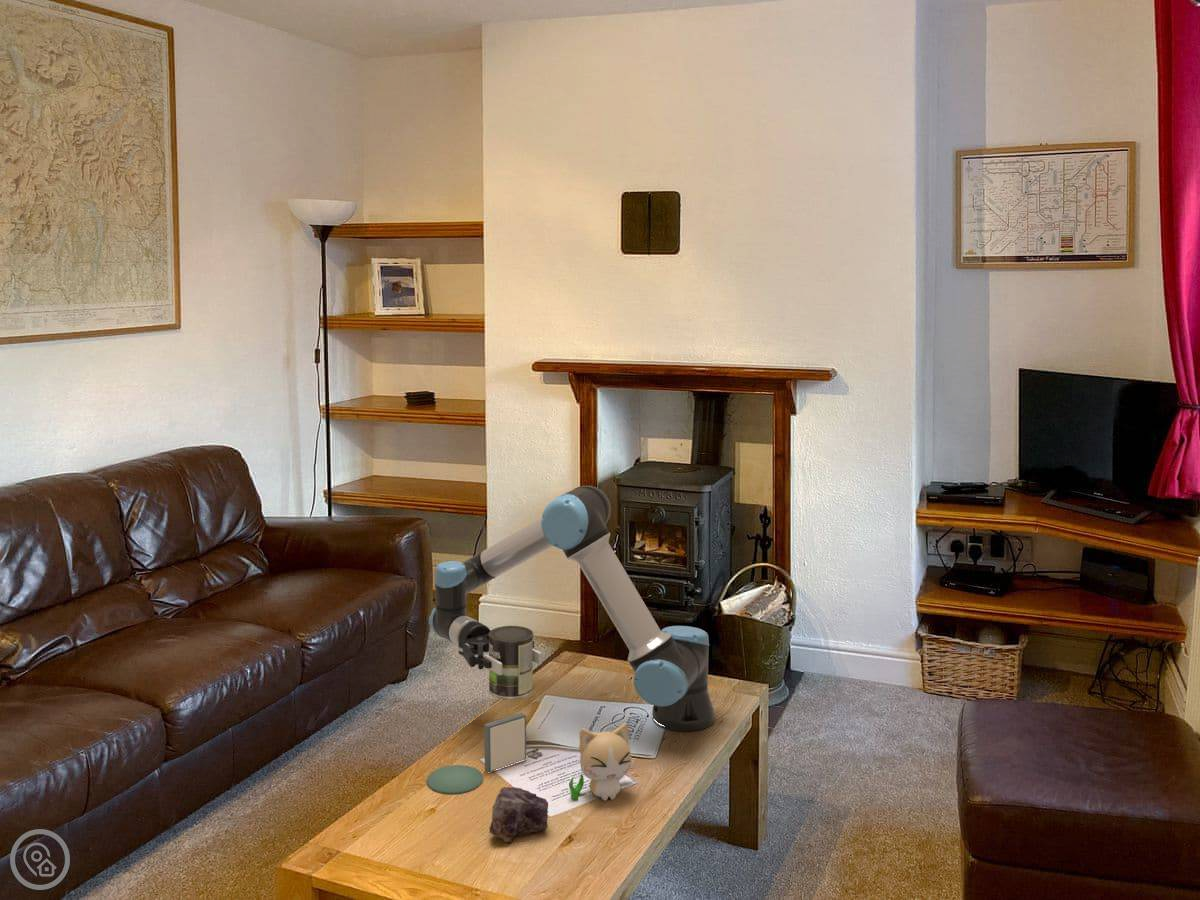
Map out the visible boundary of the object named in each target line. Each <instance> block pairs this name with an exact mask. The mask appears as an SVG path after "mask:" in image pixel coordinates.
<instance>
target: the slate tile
mask: <svg viewBox="0 0 1200 900" xmlns="http://www.w3.org/2000/svg"><path fill="white" fill-rule="evenodd" d="M483 734H484V735H483V738H484V739H483V740H484V741H483V742H484V746H483V747H484V748H483V749H484V772H486V771H487V772H491V771H494V770H496V769H499V768H502V767H505V766H508V765H511V764H514V763H516V762H519V761H522V760H525V759H526V760H527V715H526V714H525V713H523V712H520V713H516V714H512V715H510V716H506V717H504V718H500V719H496V720H494V721H493V720H492V721H490V722H487V723H484V724H483ZM487 772H486V773H487ZM494 772H495V771H494ZM491 773H492V772H491Z"/></svg>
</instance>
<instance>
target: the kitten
mask: <svg viewBox="0 0 1200 900" xmlns="http://www.w3.org/2000/svg"><path fill="white" fill-rule="evenodd" d="M629 744H630V743H629V727H628V724H627V723H626V722H624V723H622V724H621V725H620V726H618V727H617V728H615V729H614V730H613V731H601V732H597V733H594V732H592V731H590V730H587V729H585V728H583V727H582V728H580V730H579V753H580V757H579V759H580V760H579V762H580V763H579V764H580V770H581V772H582V773H580V776H579V780H578V782H577V784H576V785H575V787H574V777H572V778H571V779H570V781H569V783H568V786H569V789H570V797H571V799H572V800H573V801H579V796H581V791H582V789H583V787H584V784H585V783H584V779H585V778H584V776H585V777H586V778H588V779H589V780H590V781H589V786H588V787H589V789H590V791H591V792H592V794H593V795H594V796H596V797H600V798H601V799H602V801H604V802H606V801H608V798H610V800H612V801H613V800H615V799H616V798H617V795H618V794H619V793H620V792H621V789H622V788H621V787H622V786H621V779H623V778H624V776H626V775H627V774H628V773H629V772H630V770H631V768H632V762H633V761H632V760H633V759H632V754H631V749H630V747H629Z"/></svg>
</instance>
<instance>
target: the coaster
mask: <svg viewBox="0 0 1200 900" xmlns="http://www.w3.org/2000/svg"><path fill="white" fill-rule="evenodd" d="M483 778H484V776H483V773H482V772H481V771H480V770H479V769H477V768H476V767H474V766H468V765H462V764H456V765H453V764H452V765H447V766H442V767H439V768H437V769H435V770H433V771H431V772H430V773H429V774H428V775H427V778H426V784H427V787H429V789H430V790H432V791H433V792H436V793H439V794H446V795H459V794H460V795H461V794H465V792H466V793H469V792H471V790H472V791H474V790H475V788H476V789H477V788H479V787H480V786H481V785H482V784H483V780H484V779H483ZM480 784H481V785H480ZM479 785H480V786H479ZM478 786H479V787H478ZM468 791H469V792H468Z"/></svg>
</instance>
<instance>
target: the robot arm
mask: <svg viewBox="0 0 1200 900" xmlns="http://www.w3.org/2000/svg"><path fill="white" fill-rule="evenodd" d="M611 511H612V507H611V503H610V500H609V497H607V494H606V493H604V491H603V490H602V489H599V488H598V487H596V486H594V485H581V486H578V487H575V488H573V489H571V490H569V491H568V492H566V493H563V494H561V495H559V496H557V497H555V499H553V500H552V501H551V502H549V503H548V504H547V506H546V507H545V508H544V510H543V512H542V514H541V517H540V518H538V519H536V520H534V521H533V522H531V523H529V524H527V525H526V526H524V527H523V528H521V529H518V530H517V531H515V532H514V533H512V534H510V535H509V536H507V537H505V538H503V539H501V540H500V541H498V542H497V543H495V544H492V545H491V546H490V547H488V548H486V549H484V550H483V551H481V552H479V553H477V554H475V555H473V556H471V557H470V558H468V559H467V560H465V561H463V562H461V561H458V560H448V561H445V562H444V561H443V562H440V563H438V564H436V566H435V577H434V586H435V587H434V589H435V607H434V608H433V609H432V610H431V612H430V615H429V617H428V624H429V628H430V629H431V630H432V631H433V632H434V633H435V634H437V636H439V637H440V638H443V639H445V640H447V641H449V642H451V643H452V644H454V645H456V646H458V654H459V655H460V656H463V658H464V659H465V661H466V663H467V664H468V665H469V667H471V668H474V667H476V665H477V666H478V670H484V668H485V669H488V670H489V669H490V670H492V671H493V672H495V673H497V674H498V675H502V663H501V662H499V661H498V660H496V659H494V658H492V657H491V656H489V654H484V653H489V636H488V634H489V632H490V631H491V629H490V628H489V627H488V626H487V625H485V624H483V623H481V622H479V621H478V620H476V619H475V618H472V617H471V616H469V615H467V595H468V594H469V593H471V592H473V591H475V590H476V589H478V588H479V587H481V586H483V585H486V584H487V583H489V582H491V581H492V580H494V579H496V578H497V577H498V576H500V575H502V574H505V573H506V572H508V571H510V570H511V569H513V568H515V567H517V566H519V565H520V564H522V563H524V562H527V560H530V559H532V558H533V557H535V556H537V555H539V554H540V553H543V552H544V551H546V550H548V549H549V548H552V547H556V548H558V549H559V550H562V552H563V553H564V555H565V557H566V559H567V560H571V561H574V562H577V564H578V565H579V567H580V569H581V570H582V573H583V574H584V576H585V578H586V579H587V581H588V582H589V584H590V586H591V588H592V590H593V591H594V593H595V594H596V596H597V598H598V600H599V601H600V603H601V604H602V606H603V608H604V610H605V611H606V613H607V615H608V617H609V618H610V620H611V622H612V623H613V625H614V627H615V628H616V630H617V631H618V633H619V635H620V637H621V638H622V640H623V642H624V643H625V645H626V647H627V649H628V650H629V653H628V657H627V661H628V663H629V665H630V666H631V668H632V670H633V671H634V674H633V687H634V689H635V691H636V693H637V694H638V696H639V697H640V698H641V699H642V700H643V701H644V702H646V703H647V704H650V705H653V706H652V711H651V713H652V715H653V718H654V719H655V720H656V721H657V722H658V723H660V724H662V725H664V726H665V728H664V729H666V730H670V731H676V732H696V731H701V730H704V729H706V728H708V727H710V726H712V725H713V723H714V722H715V710H714V707H713V704H712V700H711V696H710V693H709V689H708V686H709V683H708V682H709V653H710V652H709V649H710V648H709V647H710V643H709V642H710V639H709V634H708V632H706V631H705V630H703V629H701V628H699V627H694V626H689V625H672V626H666V627H664V628H662V629H660V627H659V626H658V623H657V622H656V620H655V618H654V617H653V615H652V613H651V612H650V610H649V609H648V607H647V604H645V602H644V601H643V598H642V597H641V595H640V593H639V591H638V590H637V589H636V587H635V585H634V583H633V581H632V580H631V577H629V575H628V573H627V572H626V570H625V568H624V567H623V565H622V563H621V562H620V560H619V558H618V556H617V555H616V553H615V552H614V550H613V548H612V546H611V544H610V537H611V532H610V530H609V529H608V527H607V525H606V524H607V523H608V521H609V520H610V518H611ZM476 655H477V656H476ZM533 663H535V664H536V665H542V664H543V653H542V652H541V651H540V650H538V649H537V648H535V640H533ZM652 715H651V716H652ZM653 718H652V719H653Z"/></svg>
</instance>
